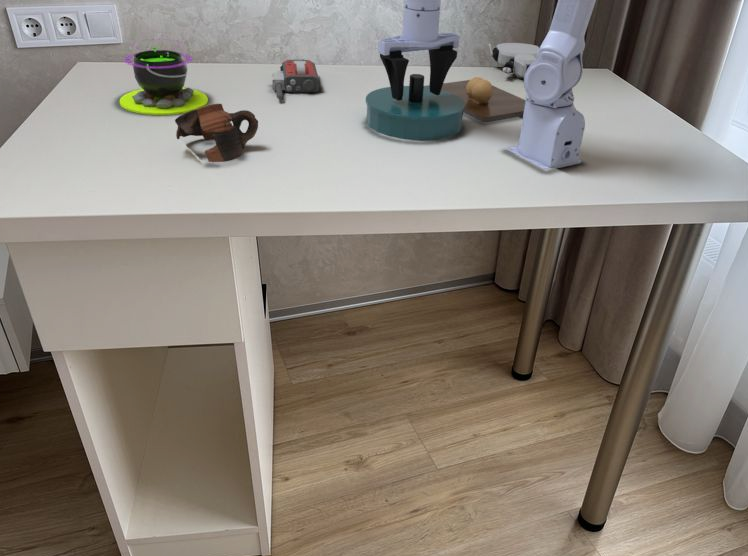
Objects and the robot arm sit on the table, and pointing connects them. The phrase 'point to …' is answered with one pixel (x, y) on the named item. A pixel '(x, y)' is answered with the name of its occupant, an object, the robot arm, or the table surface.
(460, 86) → the board
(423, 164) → the table surface
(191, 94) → the toy cauldron
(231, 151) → the broken mug
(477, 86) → the potato
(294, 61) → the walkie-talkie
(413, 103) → the teal disc
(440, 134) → the teal bowl
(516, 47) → the robot toy
